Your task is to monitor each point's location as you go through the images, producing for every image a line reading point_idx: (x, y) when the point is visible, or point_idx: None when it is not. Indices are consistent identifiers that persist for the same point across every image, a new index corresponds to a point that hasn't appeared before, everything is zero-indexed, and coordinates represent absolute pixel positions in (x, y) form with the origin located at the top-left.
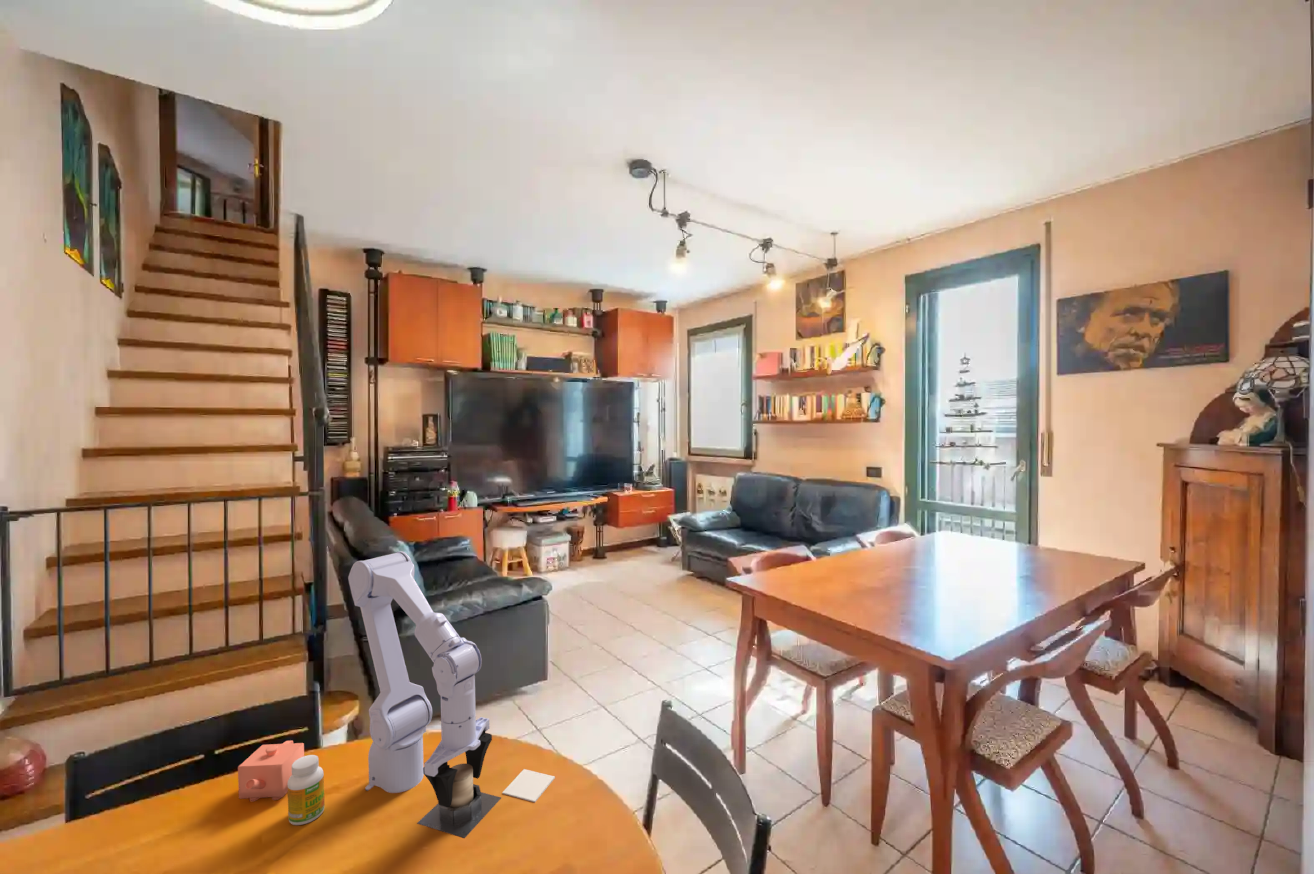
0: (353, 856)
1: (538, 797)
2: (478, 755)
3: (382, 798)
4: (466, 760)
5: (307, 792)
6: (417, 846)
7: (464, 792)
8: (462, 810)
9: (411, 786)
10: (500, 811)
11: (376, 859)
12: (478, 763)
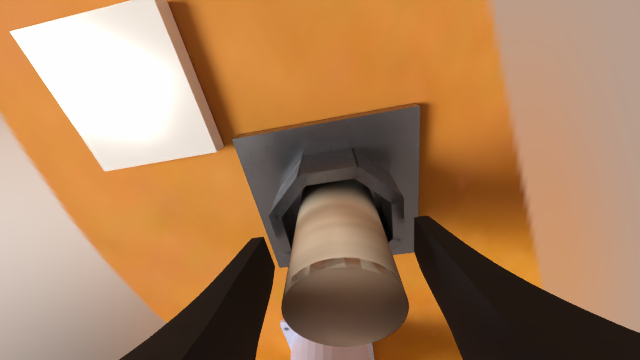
0: None
1: (130, 2)
2: (222, 327)
3: None
4: (261, 328)
5: None
6: (463, 201)
7: (360, 218)
8: (379, 177)
9: None
10: (265, 105)
11: (518, 242)
12: (239, 285)
